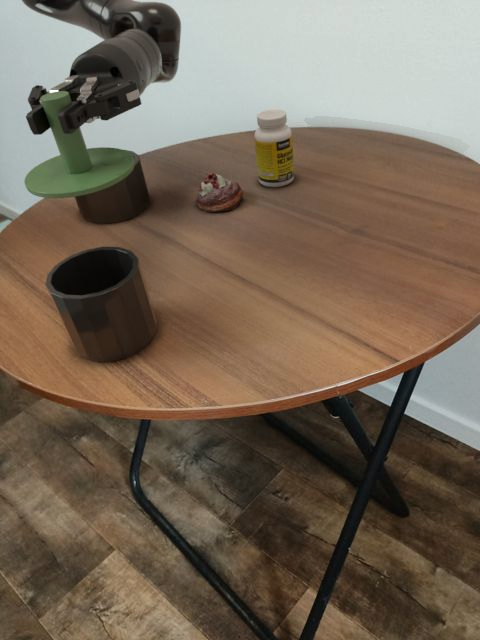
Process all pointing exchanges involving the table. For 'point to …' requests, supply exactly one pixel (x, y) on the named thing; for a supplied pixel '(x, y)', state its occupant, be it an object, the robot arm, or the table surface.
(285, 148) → the pill bottle
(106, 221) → the tin
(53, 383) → the table surface
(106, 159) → the lid
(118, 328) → the cup
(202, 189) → the pastry
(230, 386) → the table surface
